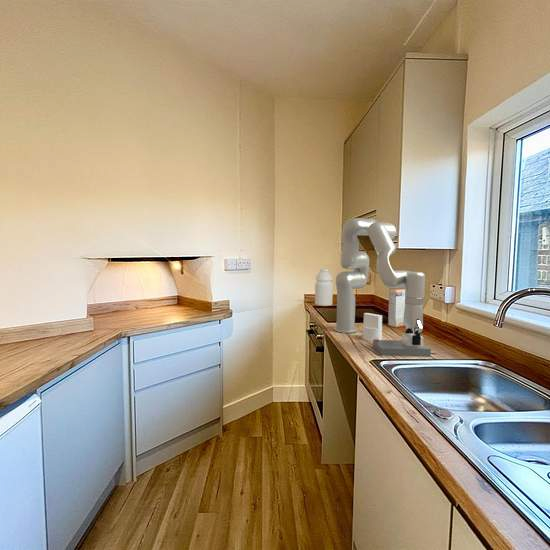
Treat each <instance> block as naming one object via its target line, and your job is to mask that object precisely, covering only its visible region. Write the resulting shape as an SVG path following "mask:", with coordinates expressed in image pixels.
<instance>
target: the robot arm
mask: <svg viewBox="0 0 550 550" xmlns="http://www.w3.org/2000/svg"><path fill="white" fill-rule="evenodd" d="M341 233H342V235H341V236H342V242H341V243H342V245H341V253H340V266H341V267H342V269H346V270H347V271H341V272H339V273H337V275H336V277H335V287H336V325H335V326H334V327H333V329H334V330H335V332H336V331H337V333H341V332H342V333H343V334H353V333H354V332H355V333H357V332H358V328H357V327H355V324H356V322H355V321H356V295H355V293H354V291H353V290H356V289H357V290H358V289H362V288H364V287H366V285H367V283H368V277H369V269H370V258H369V254H367V252H365V251H363V250H360V249H359V247H360V241H359V239H358V236H368V237H369V239H370V242H371V243H372V245H373V248H374V250H375V252H376V254H377V259H376V271H377V274H378V275H379V276H378V277H379V278H380V280H381V282H382V284H383V285H384V286H385V287H386V288H390V289H399V288H400V289H402V288H404V289H405V309H404V318H403V324H404V325H405V326H404V327H405V333H413V336H412V344H413V345H420V342H421V336H422V334H423V333H422V331H423V327H424V310H423V306H425V289H426V288H425V286H426V274H425V273H424V272H423V271H421V272H420V271H410V270H404V269H403V270H394V269H393V267H392V266H391V263H390V259H389V258H390V257H391V256H392V255H393V254H394V253H396V250H397V247H396V245H395V243H394V242H393V239H395V238H396V235H397V230H396V226H395V225H394V224H392V223H391V222H386V221H382V220H378V219H374V218H373V219H371V218H363V217H354V218H350V219H348V220H346V221H345V222H344V224H343V225H342V232H341ZM350 270H351V271H350ZM333 329H332V330H333ZM334 330H333V331H334Z"/></svg>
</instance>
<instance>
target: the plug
mask: <svg viewBox="0 0 550 550" xmlns="http://www.w3.org/2000/svg"><path fill="white" fill-rule="evenodd" d="M412 336H413V333H404V332H403V333H402V339H401V340H402V342H403V343H404V344H405V345H406V346H409V347H423V344H424V337H423V336H422V335H421V342H420V345H413V344H412Z"/></svg>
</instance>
